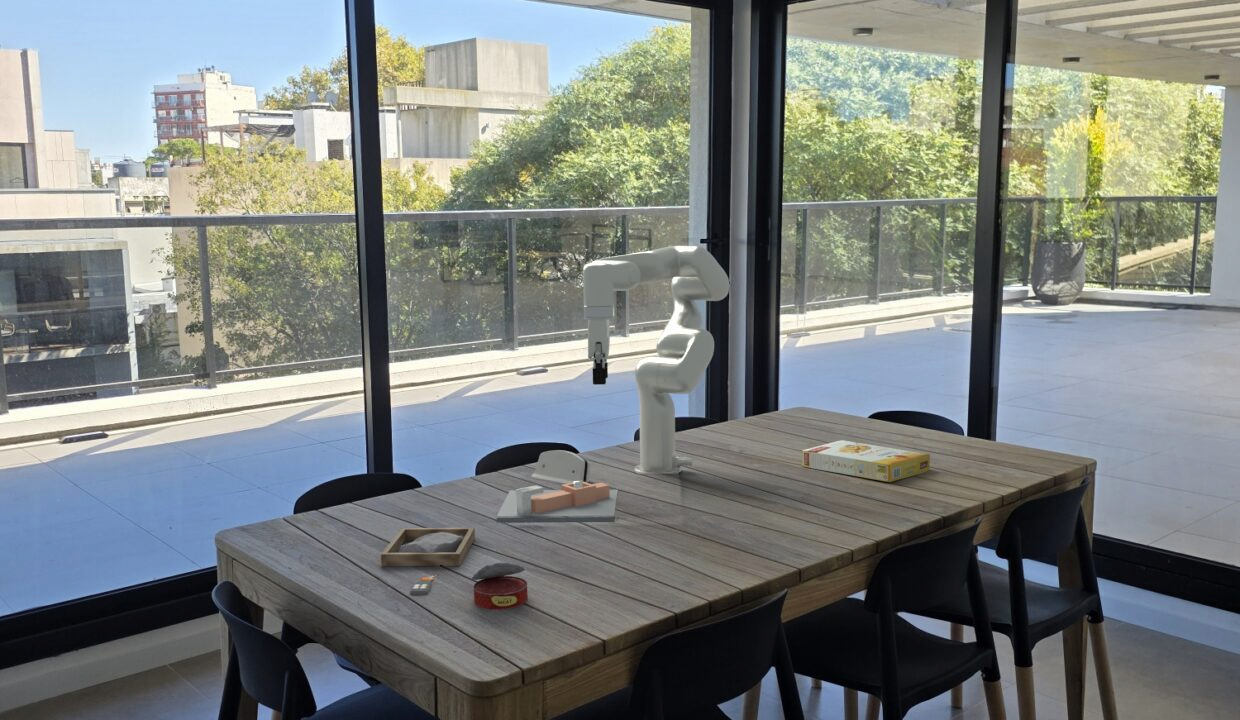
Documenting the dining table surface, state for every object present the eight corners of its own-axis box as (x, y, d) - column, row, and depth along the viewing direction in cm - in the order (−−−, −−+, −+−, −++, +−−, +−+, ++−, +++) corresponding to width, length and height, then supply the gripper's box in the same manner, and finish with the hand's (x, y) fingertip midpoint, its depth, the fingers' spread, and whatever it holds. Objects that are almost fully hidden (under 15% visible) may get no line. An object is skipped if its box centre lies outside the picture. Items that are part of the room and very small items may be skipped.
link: (597, 493, 265) (597, 477, 264) (612, 498, 260) (612, 482, 260) (524, 509, 252) (524, 492, 251) (538, 514, 247) (538, 497, 247)
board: (617, 495, 268) (617, 489, 268) (614, 521, 246) (614, 515, 245) (510, 496, 269) (510, 490, 269) (496, 522, 247) (496, 516, 246)
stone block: (396, 568, 222) (435, 565, 217) (392, 546, 222) (430, 542, 217) (431, 554, 233) (468, 550, 228) (427, 532, 232) (464, 528, 228)
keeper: (537, 515, 252) (536, 485, 251) (544, 517, 250) (543, 487, 249) (516, 519, 249) (515, 489, 248) (523, 522, 247) (522, 491, 246)
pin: (583, 506, 259) (583, 480, 258) (583, 509, 257) (582, 482, 256) (574, 506, 259) (573, 480, 258) (573, 509, 257) (573, 482, 256)
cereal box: (890, 463, 274) (800, 447, 294) (890, 485, 275) (799, 467, 294) (931, 452, 288) (842, 437, 308) (930, 472, 289) (841, 456, 309)
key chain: (429, 597, 201) (428, 589, 201) (409, 597, 201) (408, 589, 201) (441, 573, 214) (441, 566, 214) (423, 573, 214) (422, 566, 214)
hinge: (528, 482, 283) (536, 445, 284) (540, 485, 286) (547, 448, 288) (575, 492, 272) (583, 453, 273) (587, 494, 276) (595, 456, 277)
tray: (474, 538, 235) (474, 527, 235) (460, 565, 217) (459, 553, 217) (402, 539, 235) (401, 528, 235) (381, 566, 218) (380, 554, 217)
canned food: (477, 631, 195) (450, 583, 195) (502, 606, 205) (476, 560, 204) (523, 611, 191) (496, 562, 190) (548, 586, 200) (521, 540, 199)
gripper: (586, 309, 275) (587, 376, 277) (581, 316, 258) (583, 387, 260) (615, 309, 275) (616, 375, 277) (612, 316, 258) (614, 386, 260)
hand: (600, 381), depth 269 cm, fingers open, 9 cm apart
